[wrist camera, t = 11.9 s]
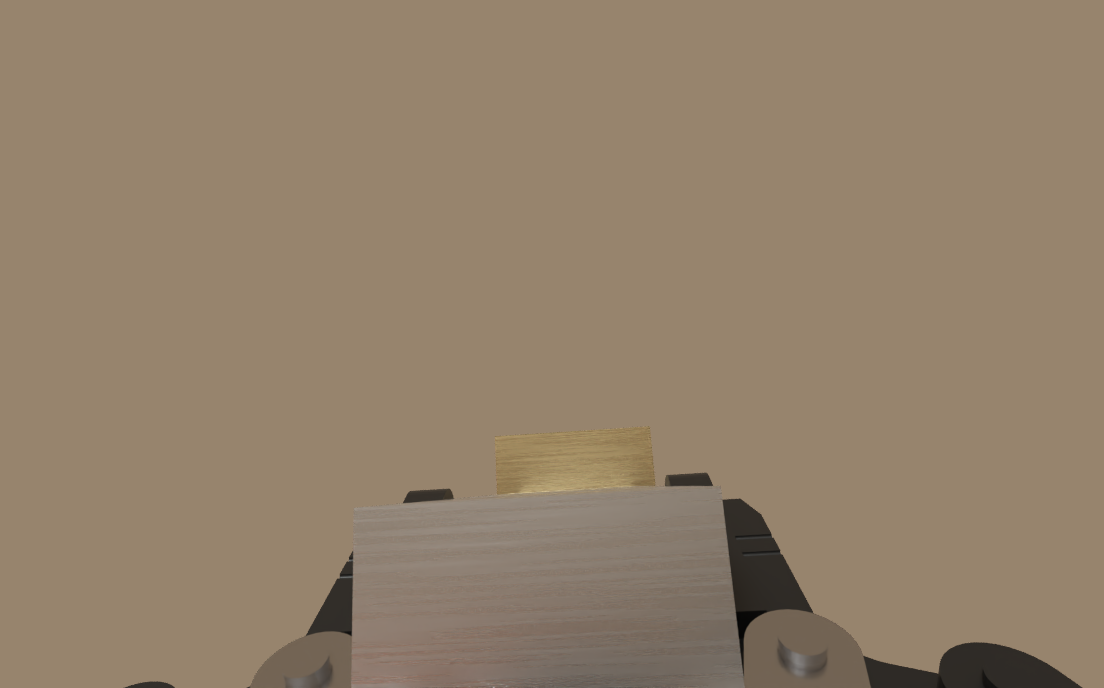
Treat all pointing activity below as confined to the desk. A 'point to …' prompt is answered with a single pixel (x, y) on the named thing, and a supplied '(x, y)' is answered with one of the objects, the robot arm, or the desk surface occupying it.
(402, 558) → the pin
